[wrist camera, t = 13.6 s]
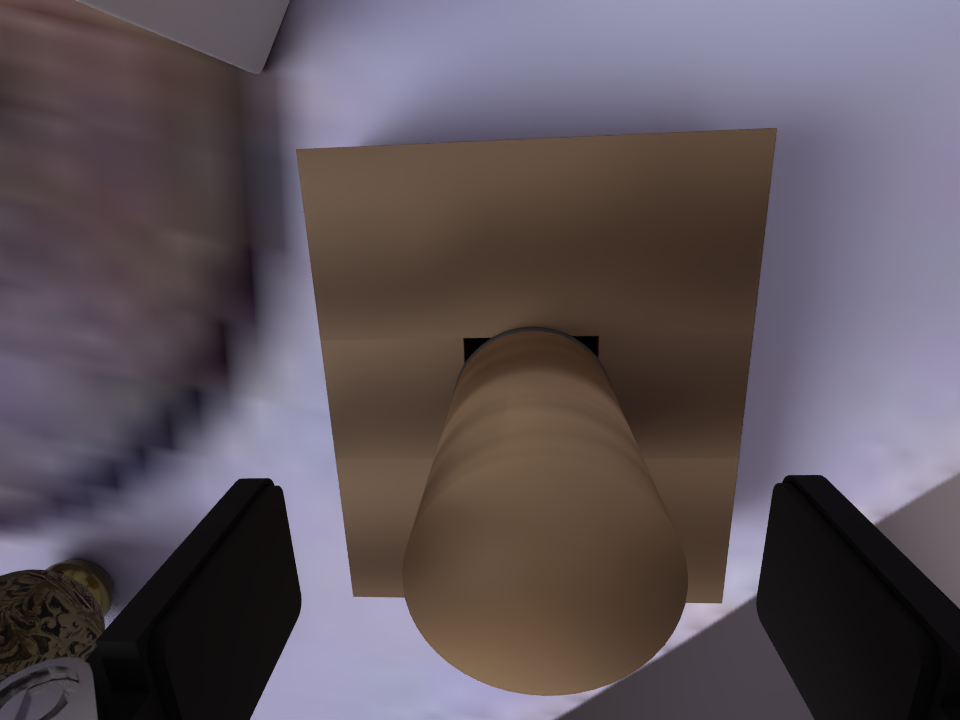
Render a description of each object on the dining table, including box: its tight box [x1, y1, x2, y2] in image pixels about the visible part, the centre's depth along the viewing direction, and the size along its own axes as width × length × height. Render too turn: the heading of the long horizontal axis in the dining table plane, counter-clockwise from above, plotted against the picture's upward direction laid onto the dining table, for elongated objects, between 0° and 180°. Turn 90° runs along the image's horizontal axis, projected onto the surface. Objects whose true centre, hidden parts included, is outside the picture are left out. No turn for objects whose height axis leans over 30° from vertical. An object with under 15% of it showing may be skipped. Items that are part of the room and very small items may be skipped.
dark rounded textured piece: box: [0, 559, 114, 683], centre depth 25 cm, size 8×7×8 cm
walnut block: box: [296, 128, 777, 603], centre depth 21 cm, size 16×14×5 cm
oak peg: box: [402, 327, 688, 696], centre depth 17 cm, size 5×5×14 cm
